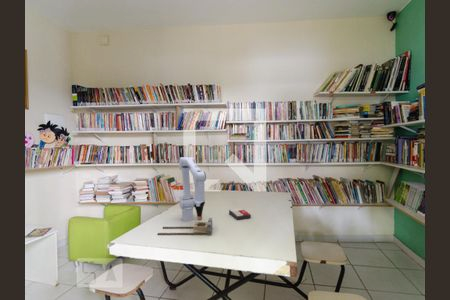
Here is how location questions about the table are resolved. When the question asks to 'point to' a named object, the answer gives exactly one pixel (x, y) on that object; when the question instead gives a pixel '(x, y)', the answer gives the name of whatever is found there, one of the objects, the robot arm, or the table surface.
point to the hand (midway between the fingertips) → (199, 215)
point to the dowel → (199, 218)
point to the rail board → (209, 228)
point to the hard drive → (239, 214)
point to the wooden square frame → (200, 227)
